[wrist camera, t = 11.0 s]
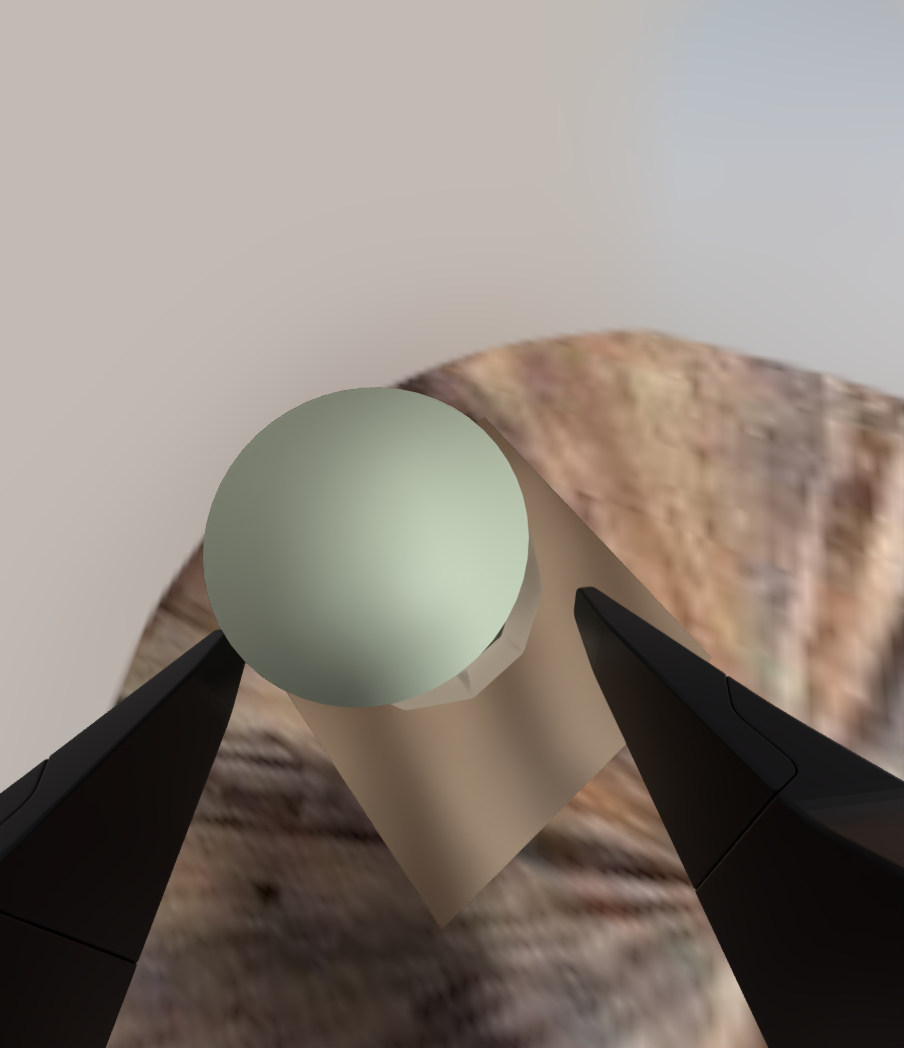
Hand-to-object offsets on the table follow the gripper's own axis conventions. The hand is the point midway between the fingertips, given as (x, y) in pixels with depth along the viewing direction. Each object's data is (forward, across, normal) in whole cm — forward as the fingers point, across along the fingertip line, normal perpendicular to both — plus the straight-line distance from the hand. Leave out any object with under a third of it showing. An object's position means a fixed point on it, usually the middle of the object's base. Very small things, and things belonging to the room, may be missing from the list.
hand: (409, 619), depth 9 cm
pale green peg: (+6, 0, +4) cm, 8 cm away
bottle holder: (+6, -2, +7) cm, 9 cm away
